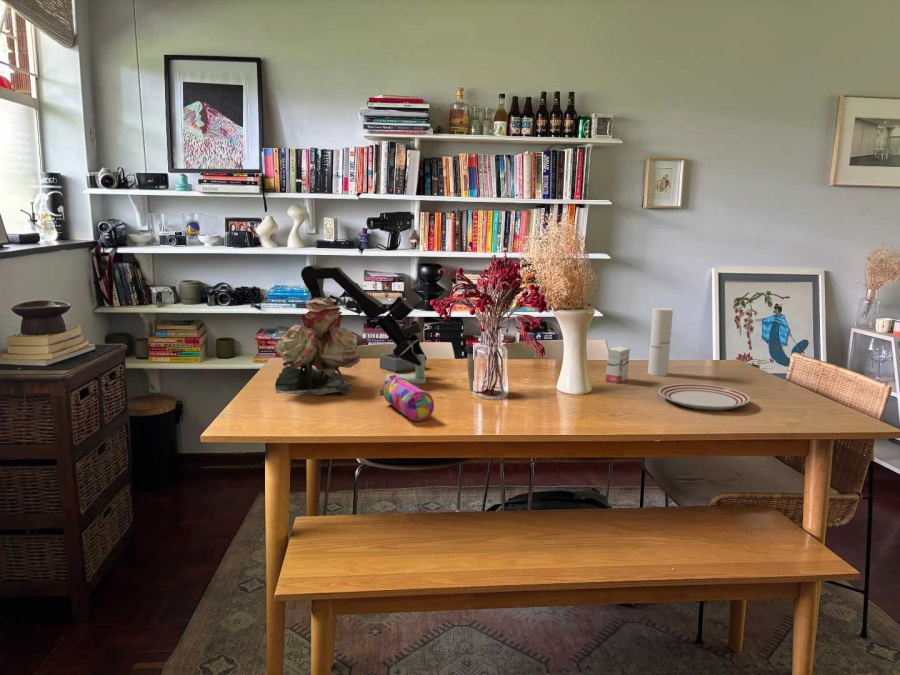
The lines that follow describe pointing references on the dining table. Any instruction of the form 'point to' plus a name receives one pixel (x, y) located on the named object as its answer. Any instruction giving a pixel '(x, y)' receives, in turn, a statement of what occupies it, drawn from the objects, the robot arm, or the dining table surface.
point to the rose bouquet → (316, 352)
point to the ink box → (617, 364)
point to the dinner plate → (704, 396)
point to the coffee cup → (470, 365)
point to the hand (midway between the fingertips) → (423, 362)
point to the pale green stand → (413, 378)
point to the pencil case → (408, 398)
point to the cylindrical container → (660, 341)
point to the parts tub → (395, 363)
